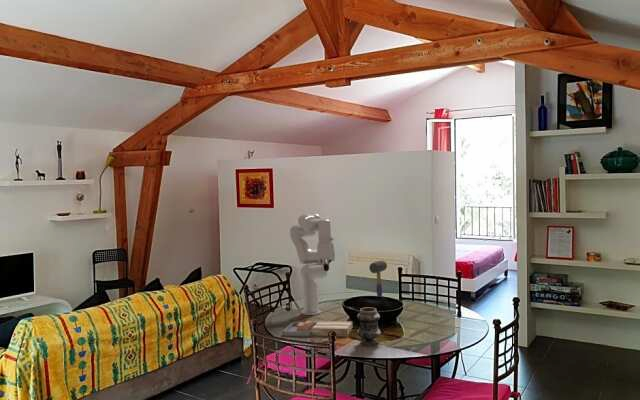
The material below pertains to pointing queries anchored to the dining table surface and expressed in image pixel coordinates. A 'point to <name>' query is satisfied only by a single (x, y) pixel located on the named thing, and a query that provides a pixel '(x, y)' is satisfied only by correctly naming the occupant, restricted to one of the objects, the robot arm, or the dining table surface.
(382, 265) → the rubber mallet
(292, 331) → the tray
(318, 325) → the cream slotted tray
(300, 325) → the tile
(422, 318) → the dining table surface
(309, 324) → the tile
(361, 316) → the apothecary jar
